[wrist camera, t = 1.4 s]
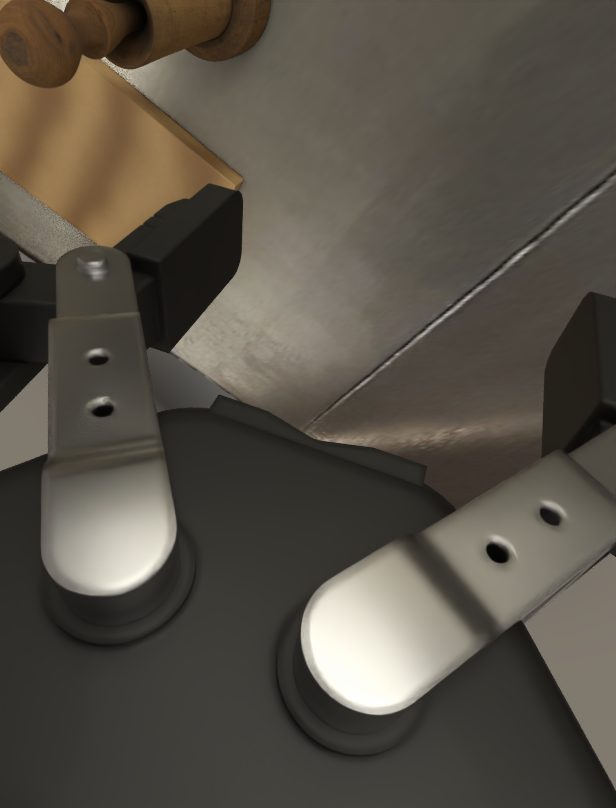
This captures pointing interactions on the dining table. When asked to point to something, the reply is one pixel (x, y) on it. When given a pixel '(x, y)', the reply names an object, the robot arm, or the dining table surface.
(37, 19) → the mortar and pestle
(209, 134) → the dining table surface
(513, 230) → the dining table surface
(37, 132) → the cutting board
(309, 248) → the dining table surface
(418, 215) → the dining table surface
